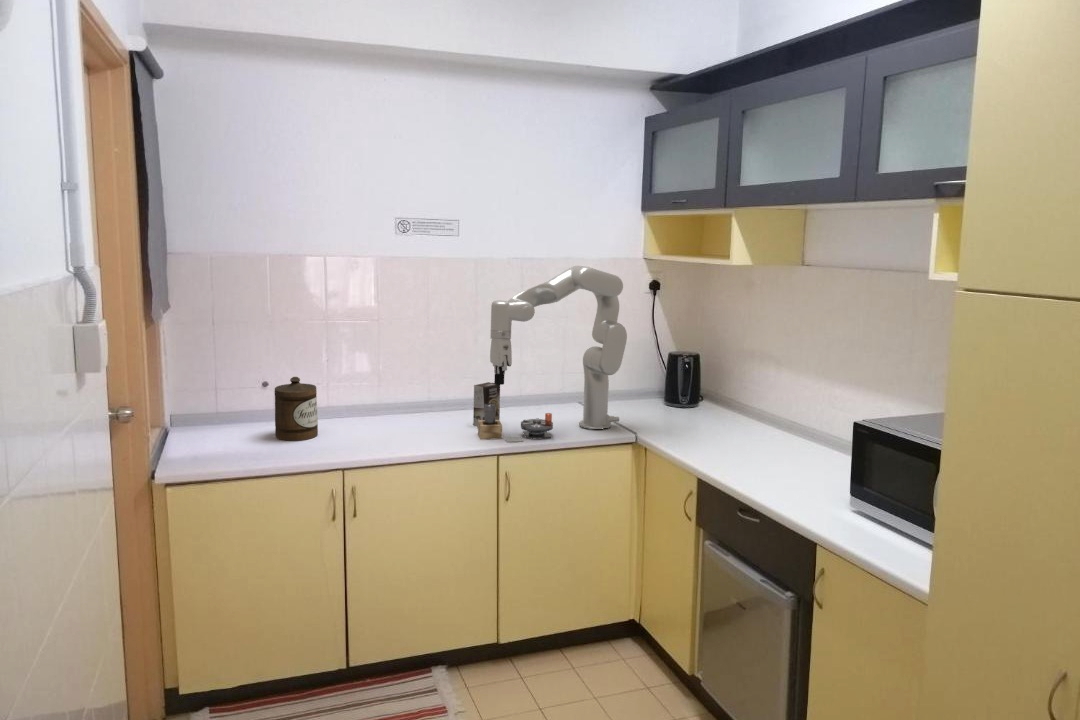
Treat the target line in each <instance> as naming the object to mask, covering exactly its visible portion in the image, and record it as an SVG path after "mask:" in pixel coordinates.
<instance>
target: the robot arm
mask: <svg viewBox="0 0 1080 720" xmlns="http://www.w3.org/2000/svg"><path fill="white" fill-rule="evenodd" d="M578 290H585V291H588V292H591V293H593V295H594V296H595V299H596V302H597V304H596V305H597V306H596V308H597V309H596V313H595V317H594V321H593V326H592V331H591V336H592V339H593V340H594V342H595V343H598V344H601V345H602V346H591V347H589V348H587V349H586V350H585V351H584V353H583V357H582V366H583V374H584V381H583V382H584V385H583V414H582V418H583V419H582V420H580V421H579V422H578V426H579V427H580V426H581V427H580V428H582V427H584V428H583V429H585V428H589V429H588V430H591V429H602V428H608V427H610V426H611V427H612V423H613V422H616V423H618V422H620V417H619V416H614V415H609V414H608V410H609V408H608V407H609V381H610V380H609V376H613V375H615V374H616V373H617V372H618V371H619V370H620V368H621V365H622V363H623V358H624V355H625V354H624V353H625V350H626V345H627V339H628V333H627V330H626V328H625V326H624V325H623V324H622V323H619V322H618V318H619V313H620V301H619V297H618V296H620V294H622V292H623V290H624V283H623V280H622V279H621V278H620V277H619V276H618V275H615V274H612V273H609V272H605V271H603V270H599V269H596V268H593V267H590V266H583V265H573V266H571V267H569V268H567V269H565V270H564V271H562V272H561V273H559V274H557V275H555V276H554V277H552V278H550V279H548V280H547V281H544V282H543V283H540V284H537V285H535V286H533V287H530V288H527V289H526V290H523V291H522V292H519V293H518V294H516V295H515V296H513V297H511V298H509V300H494V301H492V302H491V304H490V305H491V308H490V309H491V311H490V335H489V336H490V340H491V341H490V351H489V360H490V363H491V364H492V366H493V367H494V382H493V383H495V384H496V385H500V386H501V385H504V384H505V374H506V371H508V367H511V366H512V362H513V360H512V359H513V358H512V357H513V356H512V355H513V354H512V353H513V351H512V341H511V339H512V321H515V322H523V323H524V322H528V321H531V320H532V319H533V318H534V315H535V313H536V312H535V307H539V306H542V305H543V306H544V305H550V304H555V303H557V302H559V301H561V300H563V299H564V298H566V297H568V296H570V295H572V294H573V293H574V292H576V291H578ZM611 427H610V428H611ZM608 429H609V428H608Z"/></svg>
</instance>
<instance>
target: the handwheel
mask: <svg viewBox="0 0 1080 720" xmlns="http://www.w3.org/2000/svg"><path fill="white" fill-rule="evenodd" d="M520 429H521V430H522V431H530V432H545V431H547V432H549V431H552V430H553V429H554V422H553V414H552V413H551V412H546V413H545V418H544V419H541V418H538V417H537V418H536V417H535V418H530V419H523V420H522V421H521V422H520Z"/></svg>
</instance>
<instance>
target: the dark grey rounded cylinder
mask: <svg viewBox="0 0 1080 720" xmlns="http://www.w3.org/2000/svg"><path fill="white" fill-rule="evenodd" d="M495 413H496V404H492V403H488V404H485V425H495Z"/></svg>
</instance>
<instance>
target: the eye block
mask: <svg viewBox="0 0 1080 720" xmlns="http://www.w3.org/2000/svg"><path fill="white" fill-rule="evenodd" d="M478 434H479V435H478ZM477 435H478V437H479V439H480V440H491V439H490V438H501V439H503V425H502V422H501V420H500V421H499V420H495V425H485V420H479V421H478V426H477Z"/></svg>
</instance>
